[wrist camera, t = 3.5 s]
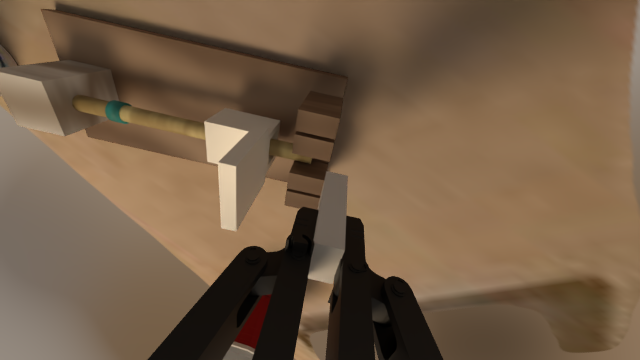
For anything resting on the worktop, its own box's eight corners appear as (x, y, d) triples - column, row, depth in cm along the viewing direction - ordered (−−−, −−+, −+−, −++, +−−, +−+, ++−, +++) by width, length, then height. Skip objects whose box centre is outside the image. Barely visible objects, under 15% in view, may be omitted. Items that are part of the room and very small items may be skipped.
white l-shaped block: (225, 100, 21) (144, 145, 13) (281, 112, 21) (236, 166, 13) (226, 150, 24) (161, 214, 16) (276, 161, 24) (236, 231, 16)
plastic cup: (260, 255, 37) (224, 341, 27) (309, 291, 40) (294, 379, 30) (221, 280, 41) (179, 361, 31) (268, 310, 45) (243, 392, 35)
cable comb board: (44, 7, 22) (-76, -1, 16) (347, 77, 22) (345, 96, 16) (89, 131, 28) (16, 159, 22) (322, 184, 28) (313, 226, 22)
